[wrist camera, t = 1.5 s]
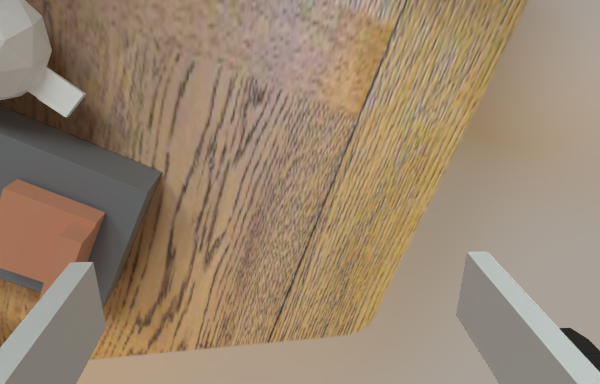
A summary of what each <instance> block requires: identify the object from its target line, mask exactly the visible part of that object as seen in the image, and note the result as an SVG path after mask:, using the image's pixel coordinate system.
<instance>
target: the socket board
mask: <svg viewBox="0 0 600 384" xmlns="http://www.w3.org/2000/svg"><path fill="white" fill-rule="evenodd" d="M161 173H162V172H160V171H158V170H155V169H153V168H151V167H148V166H146V165H143V164H141V163H138V162H136V161H134V160H131V159H129V158H126V157H124V156H121V155H119V154H117V153H114V152H112V151H109V150H107V149H104V148H102V147H100V146H97V145H95V144H92V143H90V142H87V141H85V140H83V139H80V138H78V137H75V136H73V135H70V134H68V133H66V132H63V131H61V130H58V129H56V128H53V127H51V126H49V125H46V124H44V123H41V122H39V121H36V120H34V119H32V118H29V117H27V116H24V115H22V114H19V113H17V112H15V111H12V110H10V109H7V108H5V107H2V106H0V198H1V195H2V191H3V188H4V187H6V186H7V185H9V184H11V183H12V182H14V181H15V180H17V179H19V180H22V181H24V182H27V183H29V184H32V185H35V186H37V187H40V188H43V189H45V190H48V191H50V192H53V193H56V194H58V195H61V196H64V197H66V198H69V199H72V200H74V201H77V202H79V203H82V204H85V205H87V206H90V207H93V208H95V209H98V210H100V211H103V212H105V215H104V218H103V220H102V223H101V226H100V229H99V231H98V234H97V237H96V240H95V242H94V245H93V248H92V251H91V253H90V256H89V259H88V262H93V263H94V268H95V273H96V278H97V283H98V288H99V293H100V298H101V304H102V309H103V307H104V305H105V303H106V302H107V300H108V298H109V297H110V295H111V293H112V291H113V290H114V288H115V286H116V284H117V283H118V281H119V278H120V276H121V273H122V271H123V268H124V266H125V263H126V261H127V258H128V256H129V253H130V251H131V248H132V246H133V243H134V241H135V238H136V236H137V233H138V231H139V228H140V226H141V223H142V221H143V218H144V216H145V213H146V211H147V208H148V206H149V203H150V200H151V198H152V195H153V193H154V190H155V188H156V185H157V183H158V180H159V178H160V175H161ZM0 279H3V280H6V281H9V282H12V283H15V284H18V285H21V286H24V287H27V288H30V289H33V290H36V291H40V292H41V290H42V287H43V284H44V282H41V281H38V280H35V279H32V278H29V277H26V276H23V275H20V274H17V273H14V272H11V271H8V270H5V269H2V268H0Z"/></svg>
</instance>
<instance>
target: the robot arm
mask: <svg viewBox="0 0 600 384" xmlns="http://www.w3.org/2000/svg"><path fill="white" fill-rule="evenodd" d="M456 316H457V317H458V319H459V320H460V322H461V323H462V325H463V326H464V328H465V330H466V331H467V333H468V334H469V336H470V338H471V339H472V341H473V343H474V344H475V346H476V347H477V349H478V351H479V352H480V354H481V355H482V357H483V359H484V360H485V362H486V363H487V365H488V367H489V368H490V370H491V371H492V373H493V375H494V376H495V378H496V379H497V381H498V383H499V384H600V351H599V350H598V349H597V348H596V347H595V346H594V345H593V344H592V343H591V342H590V341H589V340H588V339H586V338H585V337H584V336H582V335H580V334H579V333H577V332H576V331H574V330H573V329H571V328H558V327H557V326H556V325H555V324H554V322H553V321H552V320H551V319H550V318H549V317H548V316H547V315H546V314H545V313H544V312H543V311H542V310H541V308H539V306H537V304H536V303H535V302H534V301H533V300H532V299H531V298H530V297H529V296H528V295H527V293H526V292H525V291H524V290H523V289H522V288H521V287H520V286H519V285H518V284H517V283H516V282H515V281H514V279H512V277H511V276H510V275H509V274H508V273H507V272H506V271H505V270H504V269H503V268H502V267H501V266H500V264H499V263H498V262H497V261H496V260H495V259H494V258H493V257H492V256H491V255H490V254H489V253H488V252H467V255H466V261H465V267H464V272H463V278H462V284H461V290H460V297H459V302H458V308H457V314H456ZM105 329H106V324H105V319H104V314H103V309H102V304H101V298H100V293H99V288H98V283H97V278H96V273H95V268H94V263H93V262H70V263H69V265H68V266H67V267H66V268H65V270H64V271H63V272H62V273H61V274H60V276H59V277H58V278H57V279H56V280H55V282H54V283H53V284H52V285H51V287H50V288H49V289H48V290H47V291H46V293H45V294H44V295H43V296H42V297H41V299H40V300H39V301H38V302H37V304H36V305H35V306H34V307H33V308H32V310H31V311H30V312H29V313H28V314H27V316H26V317H25V318H24V319H23V321H22V322H21V323H20V324H19V325H18V327H17V328H16V329H15V330H14V331H13V333H12V334H11V335H10V336H9V338H8V339H7V340H6V341H5V342H4V344H3V345H2V346H1V347H0V384H76V382H77V381H78V379H79V377H80V375H81V373H82V372H83V369H84V368H85V366H86V364H87V362H88V360H89V358H90V357H91V355H92V353H93V351H94V349H95V347H96V345H97V344H98V342H99V340H100V338H101V336H102V334H103V332H104V330H105Z"/></svg>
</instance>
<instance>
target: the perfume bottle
mask: <svg viewBox="0 0 600 384" xmlns="http://www.w3.org/2000/svg"><path fill="white" fill-rule="evenodd" d="M51 53H52V49H51V45H50V42H49V38H48V35H47V31H46V27H45V24H44V20H43V17H42V15H40V14H39V13H38V12H37V11H36V10H35V9H34V8H33V7H32V6H31V5H30V4H29V3H28V2H27V1H25V0H0V100H5V99H10V98H15V97H20V96H22V95H23V94H25V93H26V92H29V93H31V94H32V95H34V96H35V97H37V99H38V100H40V101H41V102H43V103H44V104H46V105H47V106H49V107H50V108H52V109H53V110H55V111H56V112H58V113H59V114H61V115H63V116H64V117H69V116H70V115H71V114H72V112H73V111H74V110H75V109H76V107H77V106H78V105H79V103H80V102H81V101H82V99H83V98H84V97H85V96H86V93H84V92H83V91H81V90H80V89H79V88H77V87H76V86H74V85H73V84H71V83H70V82H69V81H67V80H66V79H64V78H63V77H61V76H59V75H58V74H56V73H55V72H54V71H52V70H51V69H49V68H48V67H47V64H48V61H49V58H50V56H51Z"/></svg>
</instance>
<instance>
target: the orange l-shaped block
mask: <svg viewBox="0 0 600 384" xmlns="http://www.w3.org/2000/svg"><path fill="white" fill-rule="evenodd" d="M104 215H105V212H103V211H100V210H98V209H95V208H93V207H90V206H87V205H85V204H82V203H79V202H77V201H74V200H72V199H69V198H66V197H64V196H61V195H58V194H56V193H53V192H50V191H48V190H45V189H43V188H40V187H37V186H35V185H32V184H29V183H27V182H24V181H22V180H19V179H17V180H15V181H14V182H12V183H11V184H9V185H7V186H6V187H4V188H3V191H2V195H1V198H0V268H2V269H5V270H8V271H11V272H14V273H17V274H20V275H23V276H26V277H29V278H32V279H35V280H38V281H41V282H44V284H43V287H42V290H41V293H40V297H39V299H41V297H42V296H43V295H44V294H45V293H46V291H47V290H48V289H49V288H50V287H51V285H52V284H53V283H54V282H55V280H56V279H57V278H58V277H59V276H60V274H61V273H62V272H63V271H64V270H65V268H66V267H67V266H68V265H69V263H70V262H88V259H89V256H90V253H91V251H92V248H93V245H94V242H95V240H96V237H97V234H98V231H99V229H100V226H101V223H102V220H103V218H104Z"/></svg>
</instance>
